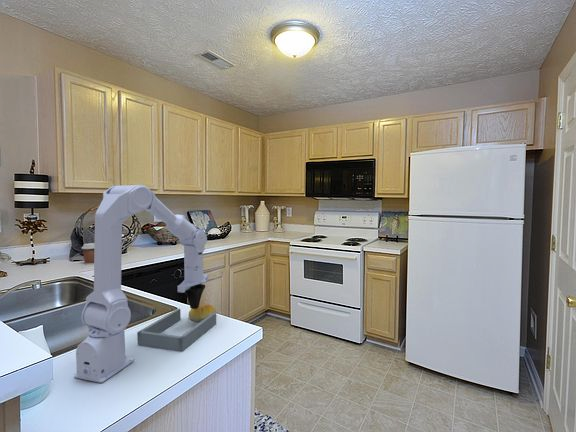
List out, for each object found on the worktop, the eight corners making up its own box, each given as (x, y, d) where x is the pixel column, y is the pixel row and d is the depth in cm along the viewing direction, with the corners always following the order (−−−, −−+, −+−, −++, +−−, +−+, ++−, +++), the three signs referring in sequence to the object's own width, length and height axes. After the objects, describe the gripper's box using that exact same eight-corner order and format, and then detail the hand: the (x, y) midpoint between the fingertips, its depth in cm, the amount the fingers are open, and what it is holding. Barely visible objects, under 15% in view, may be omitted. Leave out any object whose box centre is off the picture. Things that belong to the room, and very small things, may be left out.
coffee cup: (86, 265, 178) (85, 245, 177) (79, 263, 183) (78, 244, 182) (102, 262, 186) (102, 243, 185) (95, 261, 191) (94, 242, 190)
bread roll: (190, 313, 105) (190, 302, 105) (216, 312, 106) (216, 301, 106) (186, 323, 97) (186, 311, 96) (215, 321, 98) (215, 309, 98)
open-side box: (182, 351, 79) (182, 338, 78) (137, 344, 82) (137, 332, 82) (216, 323, 96) (216, 312, 96) (177, 319, 100) (177, 308, 99)
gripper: (192, 272, 88) (192, 317, 88) (216, 262, 102) (216, 301, 102) (171, 270, 90) (171, 315, 90) (197, 261, 104) (198, 299, 104)
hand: (194, 308), depth 96 cm, fingers closed
